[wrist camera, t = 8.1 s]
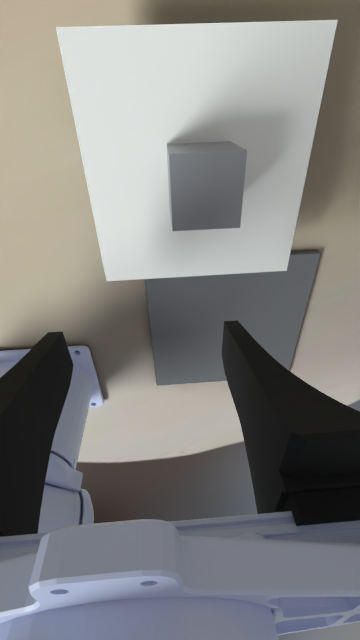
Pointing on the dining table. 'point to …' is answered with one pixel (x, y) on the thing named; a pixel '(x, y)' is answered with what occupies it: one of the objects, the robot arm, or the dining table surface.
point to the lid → (196, 140)
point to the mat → (225, 317)
